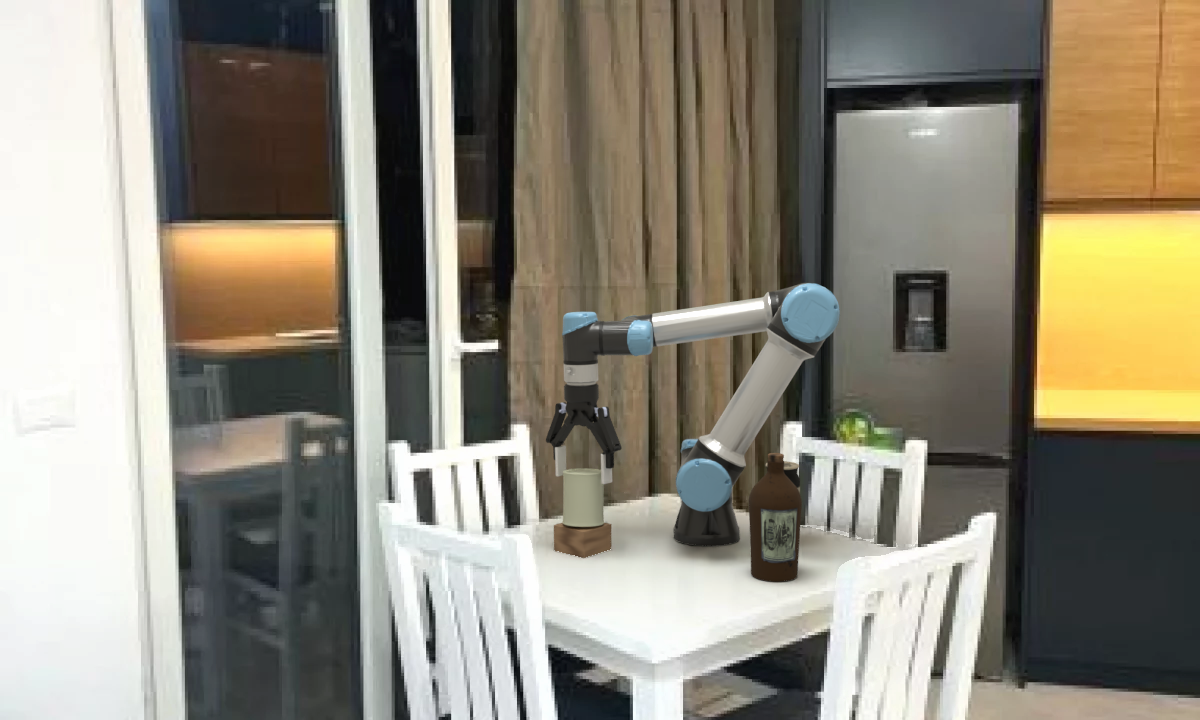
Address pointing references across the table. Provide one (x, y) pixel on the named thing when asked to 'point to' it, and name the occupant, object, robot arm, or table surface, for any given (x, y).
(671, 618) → the table surface
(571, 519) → the can
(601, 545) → the walnut block
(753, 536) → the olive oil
